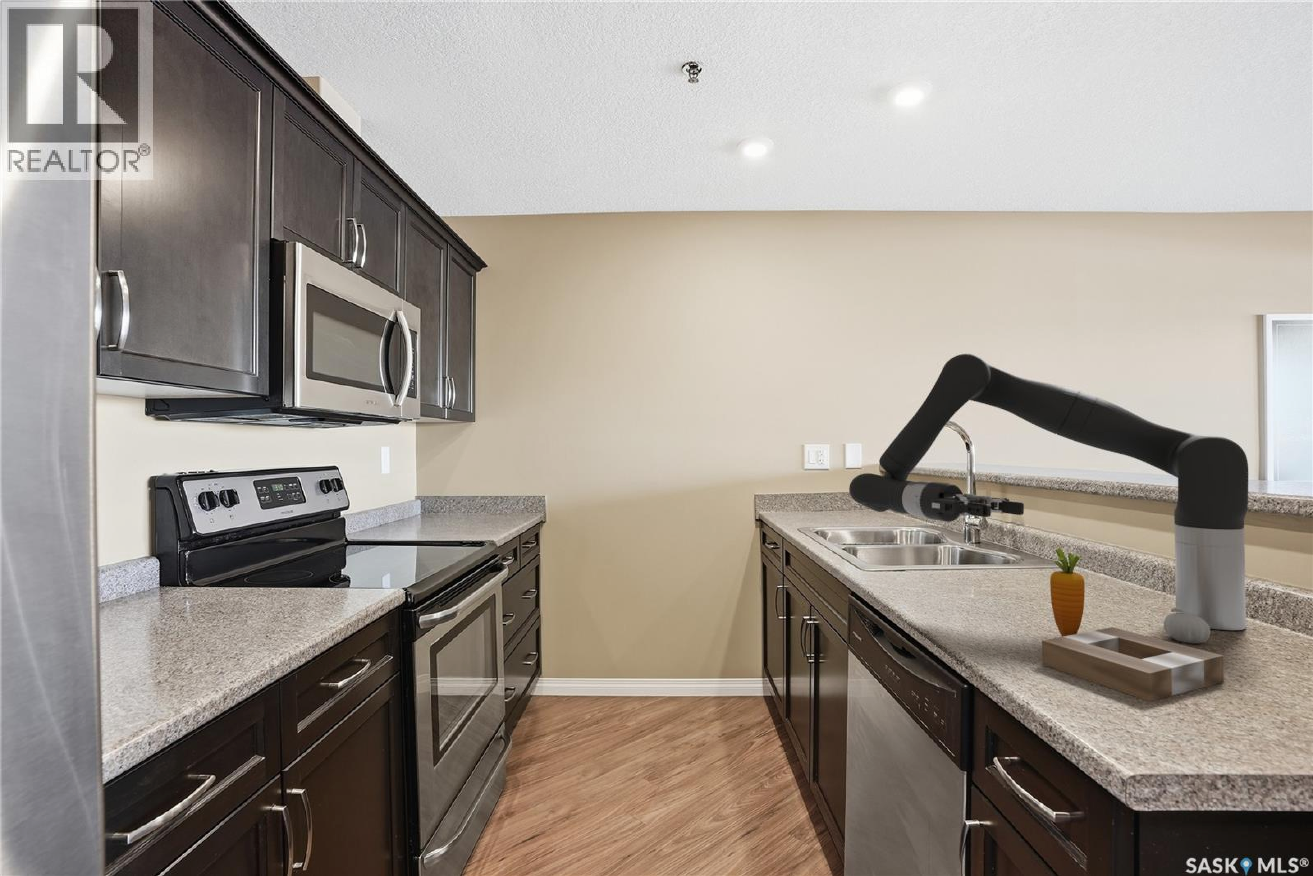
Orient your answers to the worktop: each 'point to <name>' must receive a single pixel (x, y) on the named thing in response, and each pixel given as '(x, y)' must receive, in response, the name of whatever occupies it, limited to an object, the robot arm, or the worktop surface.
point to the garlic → (1186, 627)
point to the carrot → (1067, 595)
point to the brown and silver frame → (1133, 662)
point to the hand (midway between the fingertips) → (1006, 510)
